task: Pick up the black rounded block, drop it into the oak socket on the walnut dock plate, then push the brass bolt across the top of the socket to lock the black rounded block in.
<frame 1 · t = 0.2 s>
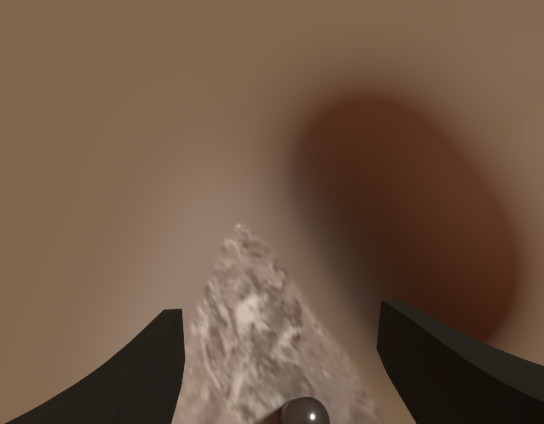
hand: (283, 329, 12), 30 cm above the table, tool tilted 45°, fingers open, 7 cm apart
black rounded block: (296, 420, 36), on the table
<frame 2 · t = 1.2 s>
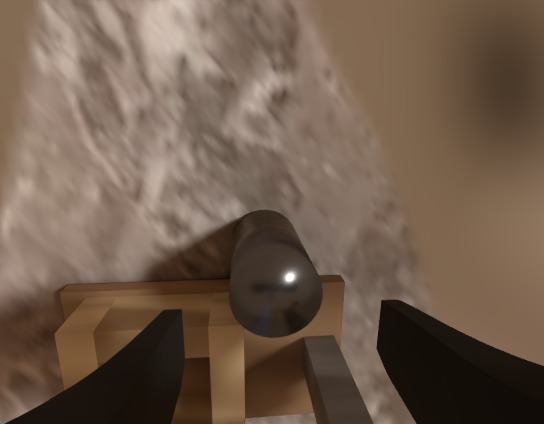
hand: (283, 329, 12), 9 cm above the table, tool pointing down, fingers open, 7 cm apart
black rounded block: (264, 240, 21), on the table
dock: (174, 349, 22), on the table
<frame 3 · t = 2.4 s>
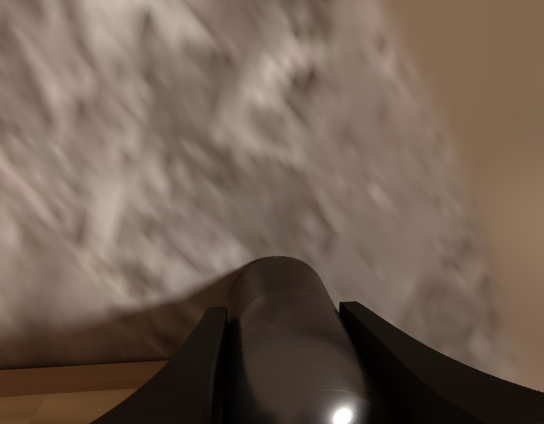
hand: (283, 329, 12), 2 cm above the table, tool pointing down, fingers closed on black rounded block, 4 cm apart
black rounded block: (277, 301, 14), on the table, touching gripper
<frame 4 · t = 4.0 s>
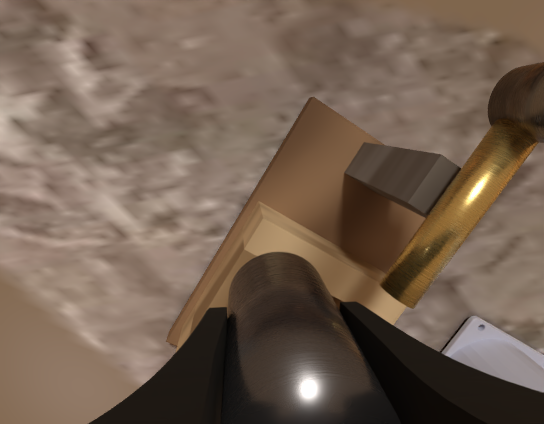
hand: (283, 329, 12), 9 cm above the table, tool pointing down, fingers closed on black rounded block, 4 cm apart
lock bolt: (485, 193, 11), point 10 cm above the table, slide at 0.0 cm
black rounded block: (276, 297, 14), point 7 cm above the table, touching gripper
dock: (281, 291, 22), on the table
when the fingers open (5 cm above the table, at t = 5.4 s): black rounded block drops 2 cm, resting on dock.
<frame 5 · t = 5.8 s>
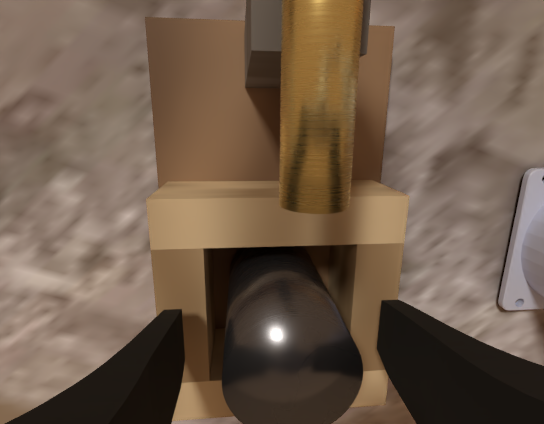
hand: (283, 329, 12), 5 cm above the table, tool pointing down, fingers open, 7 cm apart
black rounded block: (271, 272, 16), point 1 cm above the table, touching dock
dock: (270, 266, 17), on the table
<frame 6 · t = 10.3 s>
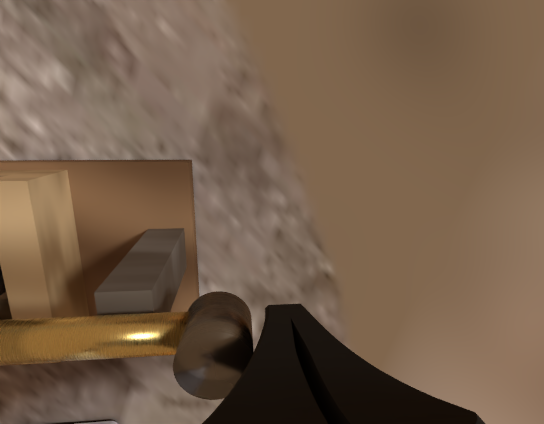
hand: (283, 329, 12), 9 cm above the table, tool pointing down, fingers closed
lock bolt: (116, 346, 11), point 10 cm above the table, slide at 0.3 cm, touching gripper
dock: (4, 246, 19), on the table
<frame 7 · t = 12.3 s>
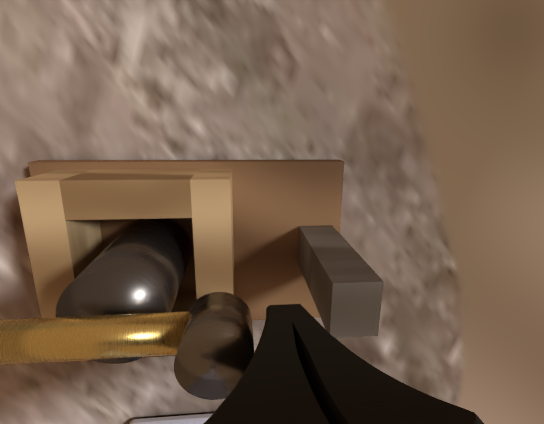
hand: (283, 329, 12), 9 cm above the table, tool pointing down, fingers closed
lock bolt: (117, 345, 11), point 10 cm above the table, slide at 9.0 cm, touching gripper
black rounded block: (155, 248, 19), point 1 cm above the table, touching dock
dock: (157, 242, 20), on the table
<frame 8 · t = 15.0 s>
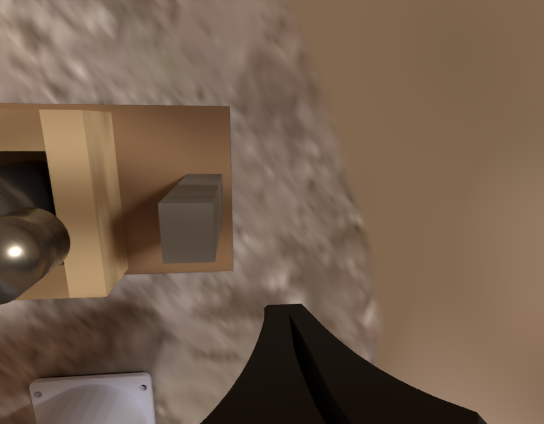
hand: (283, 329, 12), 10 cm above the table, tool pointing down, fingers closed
black rounded block: (38, 195, 19), point 1 cm above the table, touching dock
dock: (45, 192, 20), on the table
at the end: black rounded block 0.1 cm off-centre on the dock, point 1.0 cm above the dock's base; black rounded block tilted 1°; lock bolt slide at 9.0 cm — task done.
